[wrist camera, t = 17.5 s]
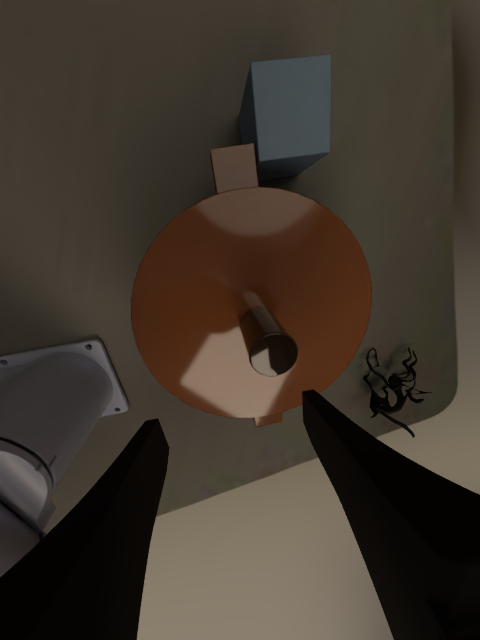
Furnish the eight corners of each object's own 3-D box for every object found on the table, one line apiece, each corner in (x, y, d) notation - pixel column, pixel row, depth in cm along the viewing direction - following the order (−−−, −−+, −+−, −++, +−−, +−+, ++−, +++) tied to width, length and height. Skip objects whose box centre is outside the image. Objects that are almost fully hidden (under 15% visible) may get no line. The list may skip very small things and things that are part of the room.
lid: (172, 425, 18) (157, 495, 13) (97, 212, 12) (21, 197, 7) (356, 386, 18) (406, 439, 14) (368, 172, 13) (461, 133, 8)
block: (245, 182, 16) (259, 161, 12) (238, 115, 15) (250, 61, 10) (297, 175, 17) (330, 152, 12) (295, 108, 15) (331, 52, 11)
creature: (371, 329, 24) (335, 393, 24) (423, 341, 18) (376, 423, 19) (417, 358, 26) (383, 417, 26) (474, 377, 21) (432, 450, 21)
